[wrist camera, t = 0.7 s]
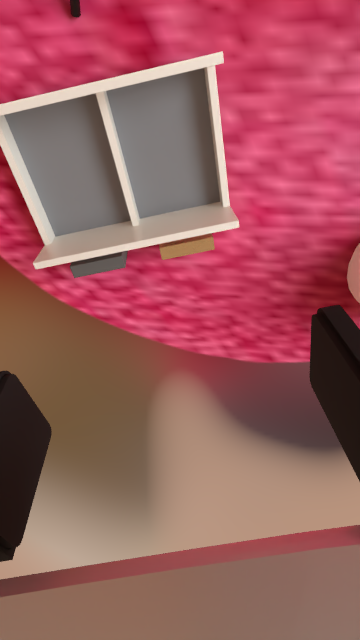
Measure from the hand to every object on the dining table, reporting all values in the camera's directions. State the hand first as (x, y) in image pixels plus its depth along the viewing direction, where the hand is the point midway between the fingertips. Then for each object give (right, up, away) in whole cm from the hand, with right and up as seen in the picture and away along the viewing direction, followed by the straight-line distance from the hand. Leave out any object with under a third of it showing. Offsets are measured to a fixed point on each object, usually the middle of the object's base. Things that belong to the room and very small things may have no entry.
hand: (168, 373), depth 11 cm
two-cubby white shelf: (-5, +16, +20) cm, 26 cm away
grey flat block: (-8, +9, +25) cm, 27 cm away
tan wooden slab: (+1, +11, +24) cm, 27 cm away
